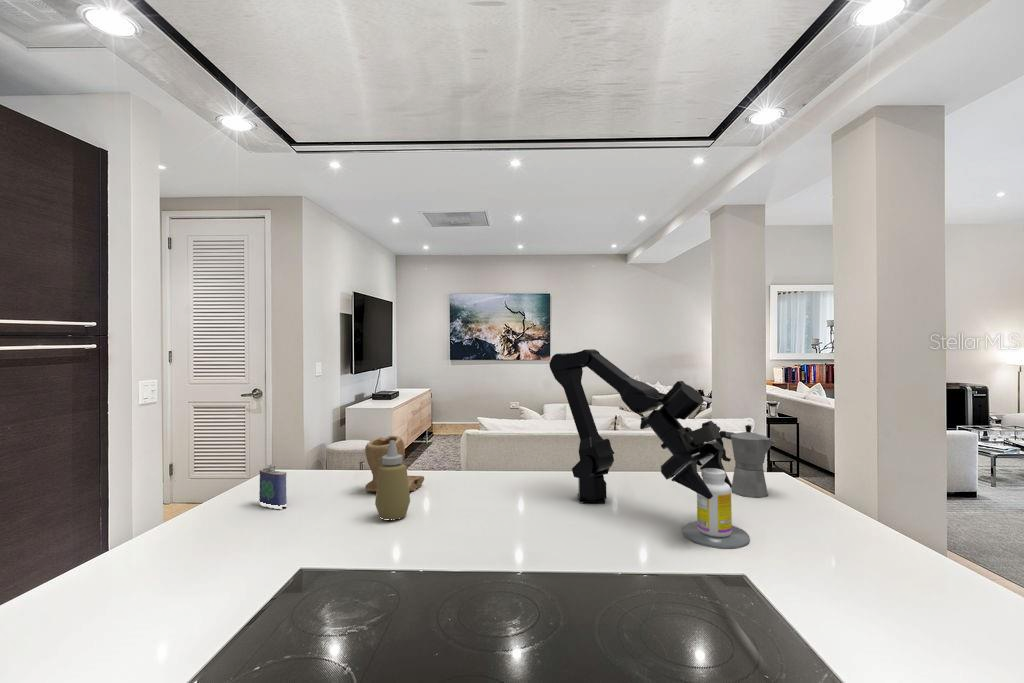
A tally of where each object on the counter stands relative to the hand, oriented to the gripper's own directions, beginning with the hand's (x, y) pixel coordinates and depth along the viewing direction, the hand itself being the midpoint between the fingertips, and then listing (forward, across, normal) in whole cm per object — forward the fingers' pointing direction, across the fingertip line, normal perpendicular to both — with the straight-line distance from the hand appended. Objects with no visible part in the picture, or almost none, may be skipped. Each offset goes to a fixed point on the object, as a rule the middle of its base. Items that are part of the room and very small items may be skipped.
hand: (721, 492), depth 99 cm
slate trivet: (+6, 0, +8) cm, 9 cm away
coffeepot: (+1, +34, +13) cm, 37 cm away
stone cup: (-48, -33, +61) cm, 84 cm away
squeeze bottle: (-35, -43, +48) cm, 73 cm away
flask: (-55, -61, +68) cm, 107 cm away
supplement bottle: (+5, 0, +7) cm, 9 cm away
